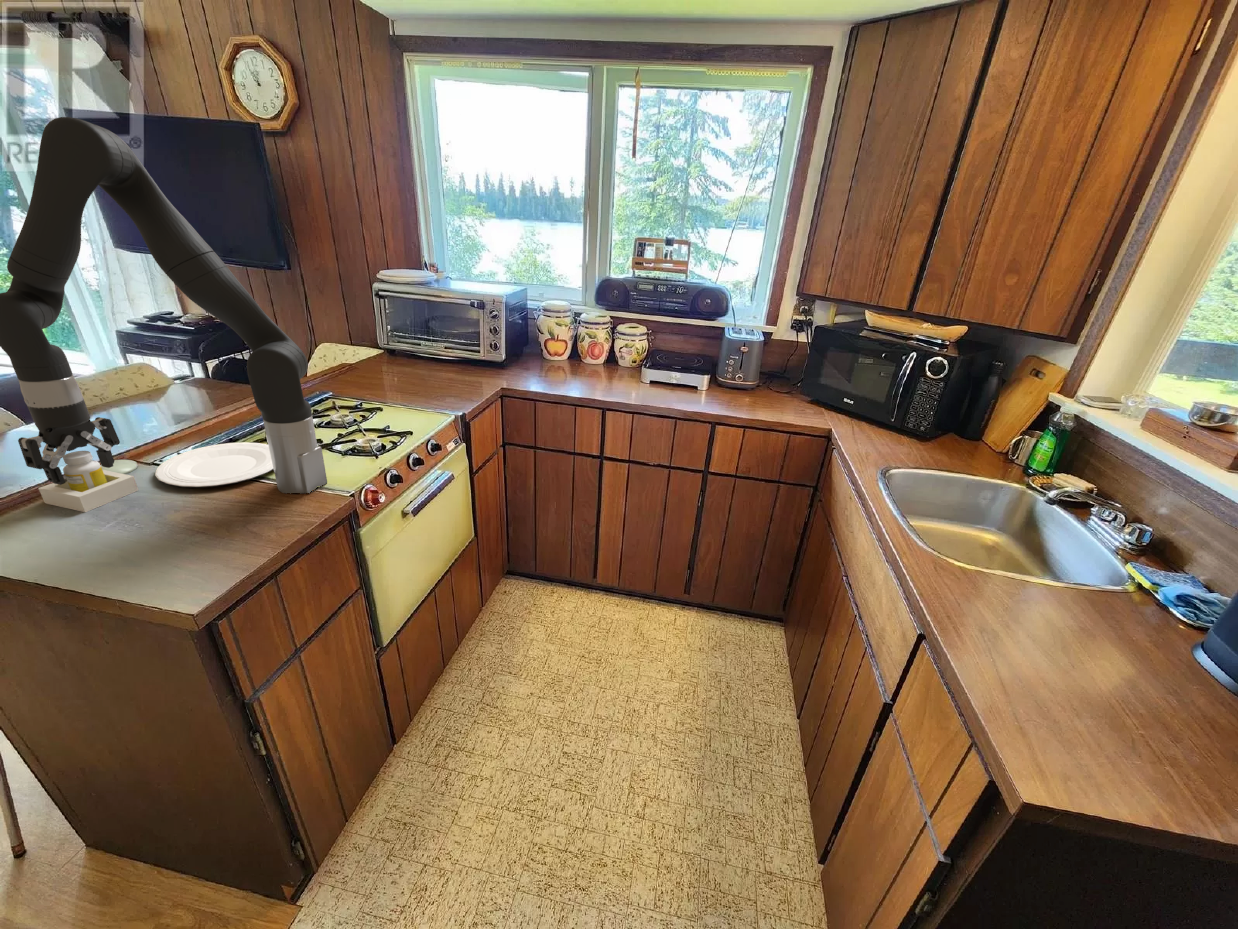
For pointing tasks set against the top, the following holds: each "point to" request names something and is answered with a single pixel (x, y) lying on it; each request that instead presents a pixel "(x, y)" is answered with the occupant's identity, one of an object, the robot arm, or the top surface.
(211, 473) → the plate
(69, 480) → the supplement bottle
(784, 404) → the top surface
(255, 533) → the top surface
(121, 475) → the shallow beige tray
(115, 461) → the coaster
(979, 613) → the top surface
